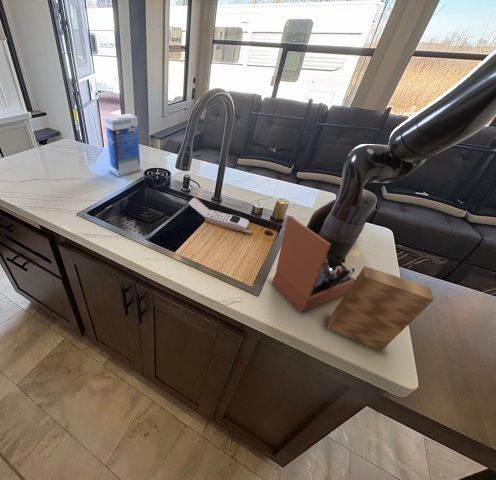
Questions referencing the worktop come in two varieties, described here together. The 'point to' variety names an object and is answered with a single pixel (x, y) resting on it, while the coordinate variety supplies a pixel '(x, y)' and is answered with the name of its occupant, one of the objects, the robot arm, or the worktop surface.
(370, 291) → the wooden block
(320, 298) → the case
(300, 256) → the cover
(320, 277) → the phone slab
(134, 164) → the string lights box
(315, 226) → the letter holder
